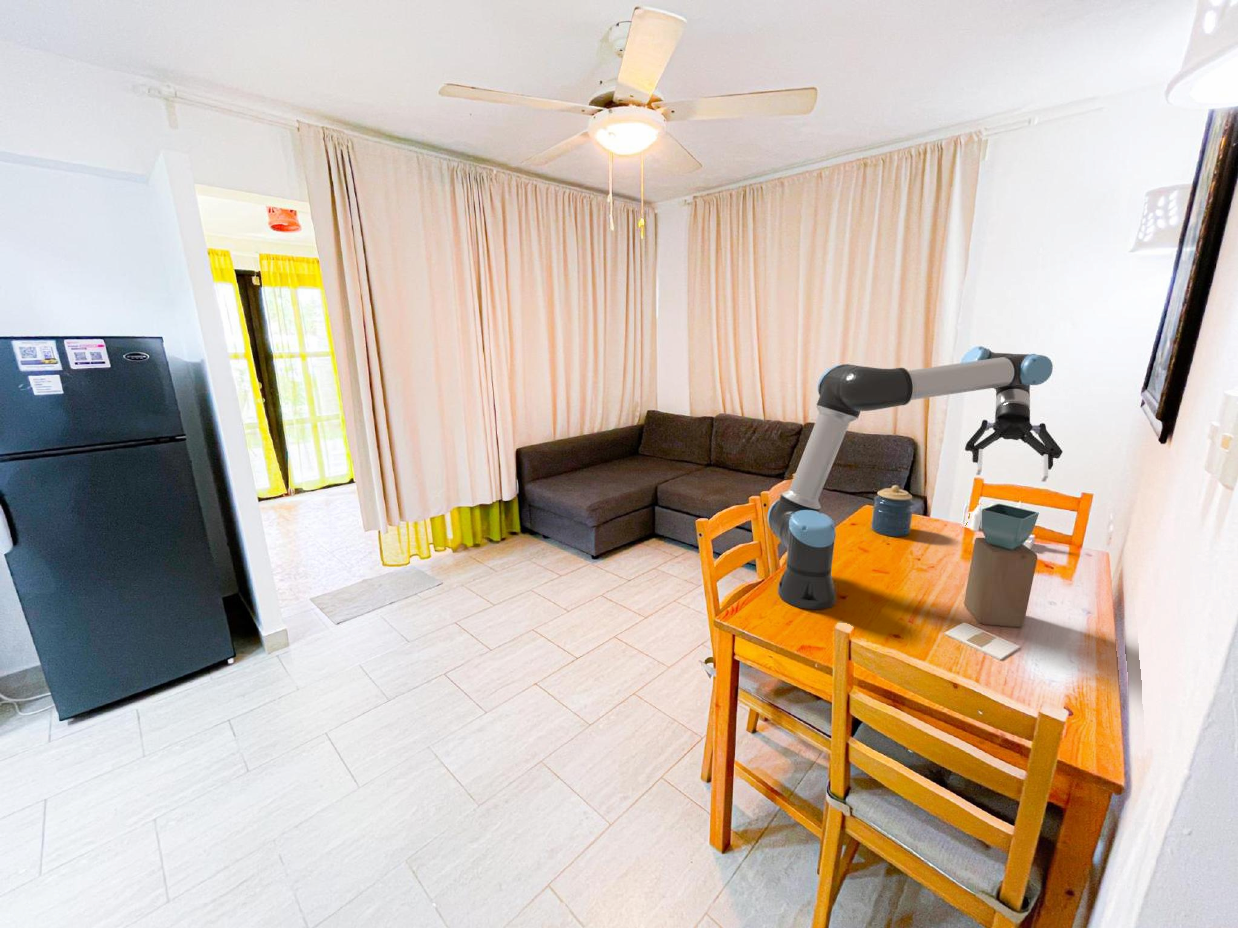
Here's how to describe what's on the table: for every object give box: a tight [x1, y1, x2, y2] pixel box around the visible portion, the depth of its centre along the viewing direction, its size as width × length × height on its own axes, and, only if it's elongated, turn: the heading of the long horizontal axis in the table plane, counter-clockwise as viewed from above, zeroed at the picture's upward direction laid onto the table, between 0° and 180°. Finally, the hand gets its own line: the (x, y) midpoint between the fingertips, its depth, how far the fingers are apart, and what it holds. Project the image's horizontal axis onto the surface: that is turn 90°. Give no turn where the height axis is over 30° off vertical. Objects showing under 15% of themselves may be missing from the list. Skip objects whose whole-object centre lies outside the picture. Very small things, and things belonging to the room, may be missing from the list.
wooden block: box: [963, 537, 1039, 628], centre depth 128 cm, size 10×10×20 cm
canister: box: [870, 484, 915, 538], centre depth 186 cm, size 13×13×18 cm
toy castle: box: [960, 497, 1036, 550], centre depth 180 cm, size 14×25×16 cm, turn 23°
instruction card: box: [944, 622, 1021, 661], centre depth 120 cm, size 12×9×1 cm
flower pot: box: [981, 503, 1040, 550], centre depth 124 cm, size 9×9×9 cm
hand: (1011, 475), depth 130 cm, fingers open, 13 cm apart
